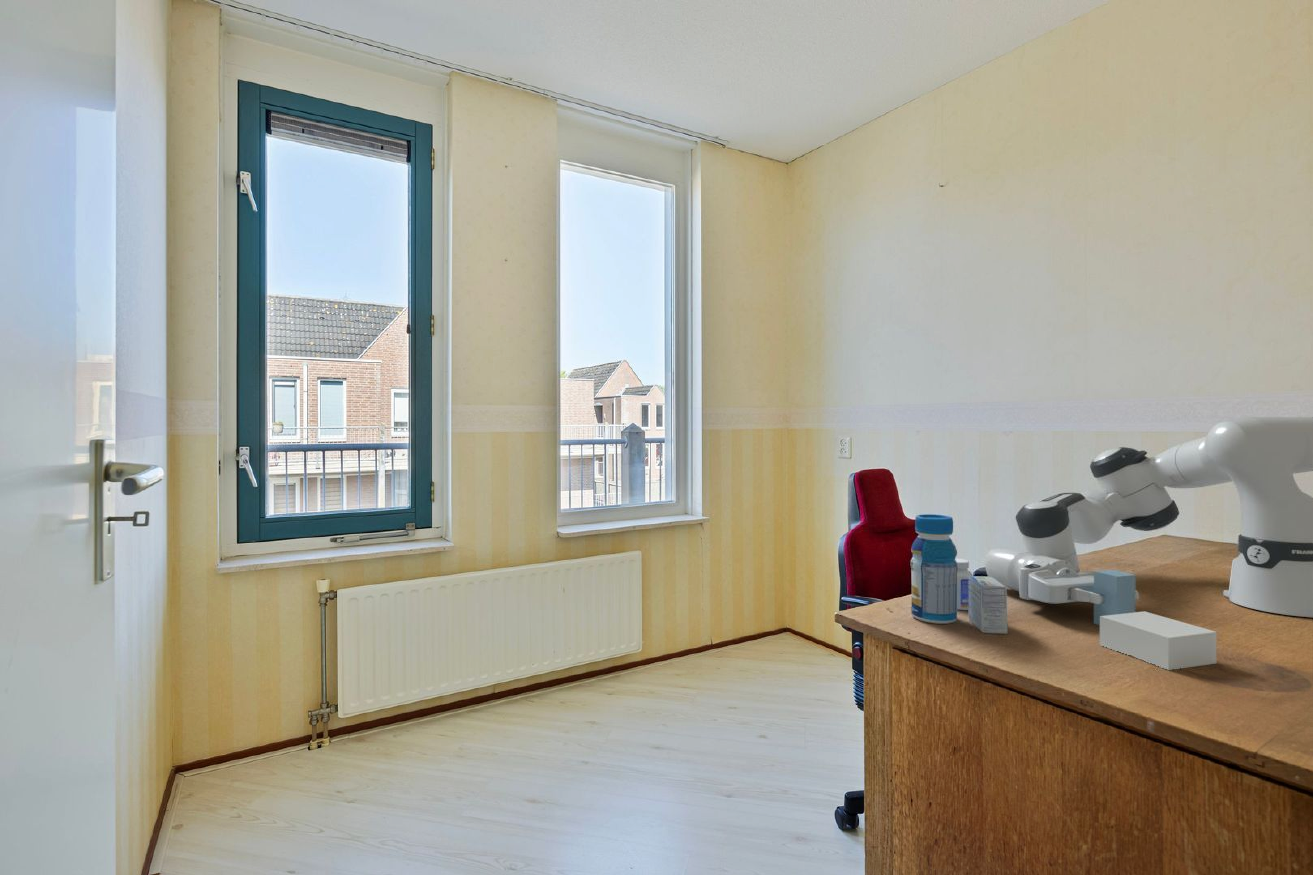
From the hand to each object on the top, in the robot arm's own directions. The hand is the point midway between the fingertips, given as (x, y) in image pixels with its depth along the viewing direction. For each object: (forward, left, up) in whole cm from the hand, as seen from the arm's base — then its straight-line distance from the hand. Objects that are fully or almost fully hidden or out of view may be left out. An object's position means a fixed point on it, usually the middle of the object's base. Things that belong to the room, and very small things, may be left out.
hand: (1119, 597), depth 112 cm
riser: (+7, +12, -6) cm, 15 cm away
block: (0, -1, -6) cm, 6 cm away
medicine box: (+23, -7, -6) cm, 25 cm away
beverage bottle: (+29, -14, -6) cm, 33 cm away
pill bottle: (+19, -19, -6) cm, 27 cm away
